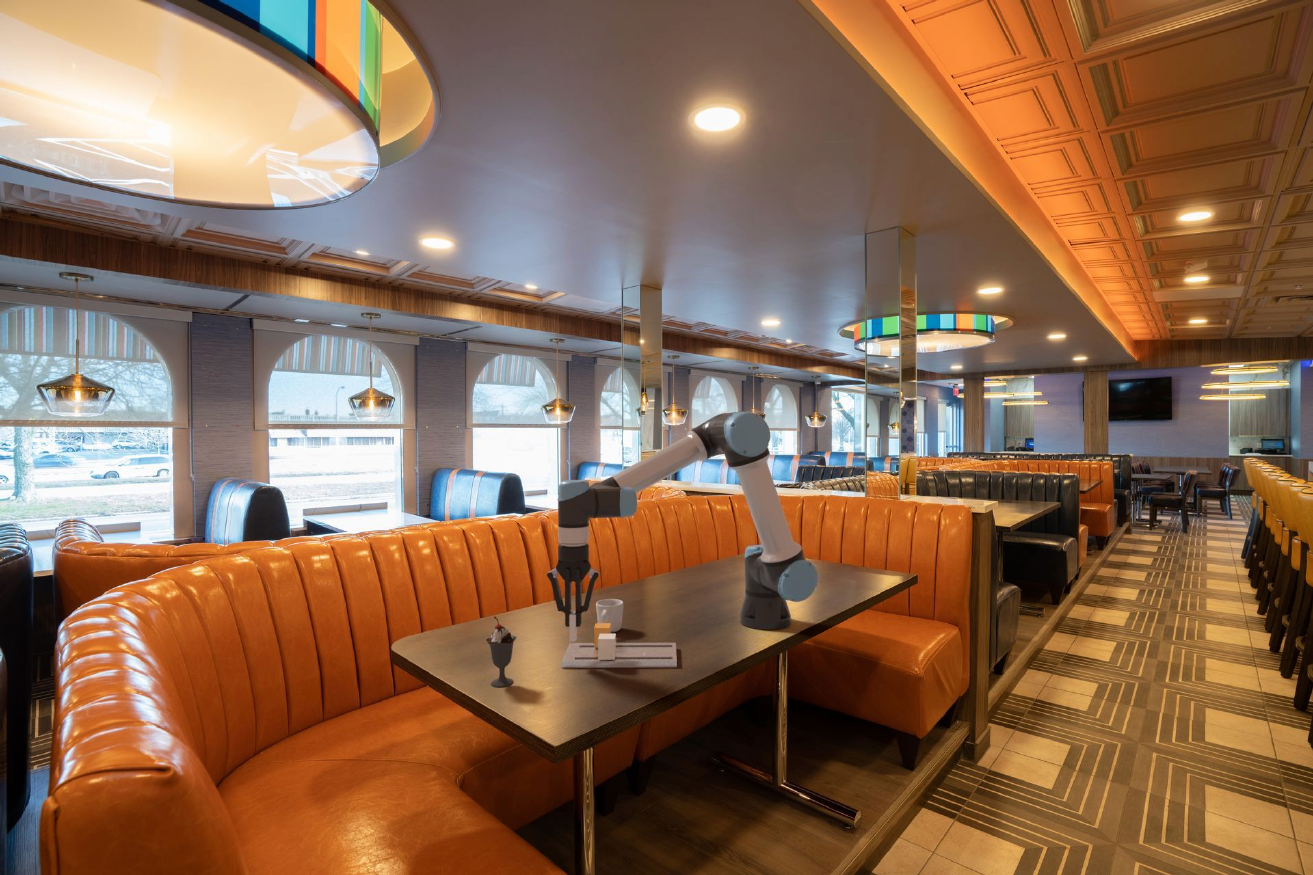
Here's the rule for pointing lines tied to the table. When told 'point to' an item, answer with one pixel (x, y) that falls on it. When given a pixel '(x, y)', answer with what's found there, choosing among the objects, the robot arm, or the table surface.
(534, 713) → the table surface
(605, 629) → the fader
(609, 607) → the cup
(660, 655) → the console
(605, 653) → the block
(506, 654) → the sundae
